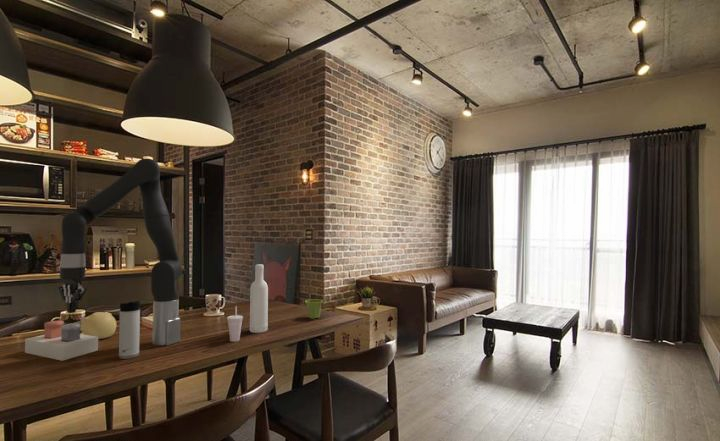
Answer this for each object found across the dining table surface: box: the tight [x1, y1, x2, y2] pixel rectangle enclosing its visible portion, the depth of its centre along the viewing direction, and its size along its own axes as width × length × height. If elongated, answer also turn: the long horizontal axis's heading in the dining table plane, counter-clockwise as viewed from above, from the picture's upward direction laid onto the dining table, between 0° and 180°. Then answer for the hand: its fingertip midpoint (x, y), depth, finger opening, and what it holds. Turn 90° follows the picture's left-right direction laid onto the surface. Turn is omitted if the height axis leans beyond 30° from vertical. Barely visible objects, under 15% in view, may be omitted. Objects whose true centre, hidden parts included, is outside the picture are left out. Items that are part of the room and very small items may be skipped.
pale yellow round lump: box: [80, 311, 117, 340], centre depth 156 cm, size 12×12×11 cm
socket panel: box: [24, 333, 99, 362], centre depth 138 cm, size 22×12×5 cm, turn 69°
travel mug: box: [118, 300, 141, 360], centre depth 134 cm, size 6×7×20 cm
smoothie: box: [226, 305, 244, 342], centre depth 153 cm, size 6×6×14 cm
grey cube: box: [61, 322, 81, 342], centre depth 136 cm, size 6×6×6 cm
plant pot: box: [304, 298, 324, 320], centre depth 194 cm, size 9×9×9 cm
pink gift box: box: [44, 320, 65, 339], centre depth 140 cm, size 6×6×6 cm
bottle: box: [249, 263, 269, 334], centre depth 168 cm, size 8×8×30 cm
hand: (71, 312), depth 137 cm, fingers closed
